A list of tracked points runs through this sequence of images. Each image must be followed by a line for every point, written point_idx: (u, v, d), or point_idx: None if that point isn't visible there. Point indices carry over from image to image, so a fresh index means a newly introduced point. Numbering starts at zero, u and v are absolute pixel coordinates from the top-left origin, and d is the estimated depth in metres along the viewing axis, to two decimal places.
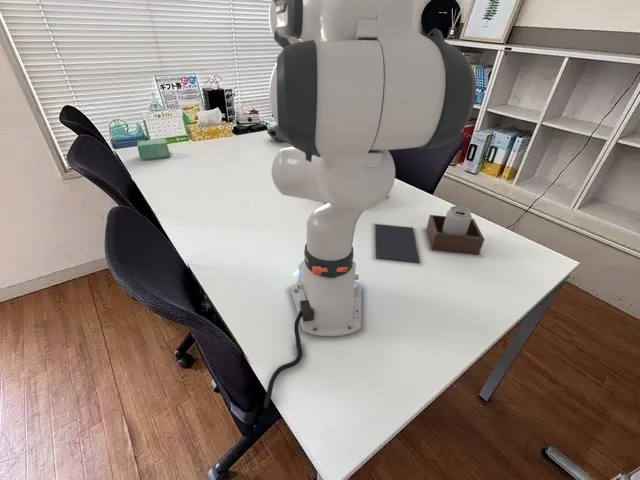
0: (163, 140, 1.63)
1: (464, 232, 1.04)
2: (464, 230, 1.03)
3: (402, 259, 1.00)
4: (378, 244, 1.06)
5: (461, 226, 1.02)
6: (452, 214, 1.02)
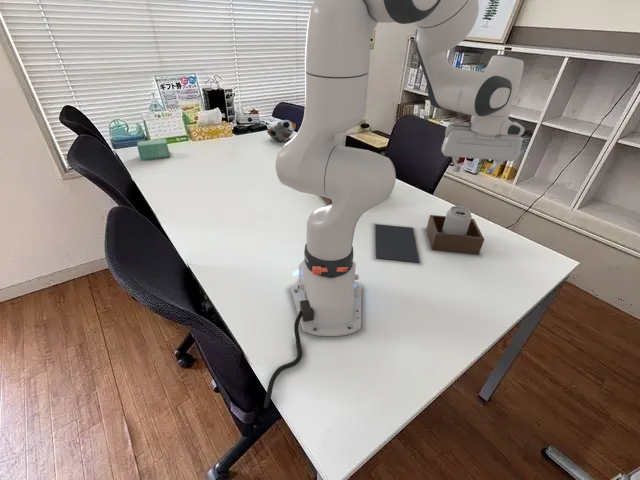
0: (163, 140, 1.63)
1: (464, 232, 1.04)
2: (464, 230, 1.03)
3: (402, 259, 1.00)
4: (378, 244, 1.06)
5: (461, 226, 1.02)
6: (452, 214, 1.02)
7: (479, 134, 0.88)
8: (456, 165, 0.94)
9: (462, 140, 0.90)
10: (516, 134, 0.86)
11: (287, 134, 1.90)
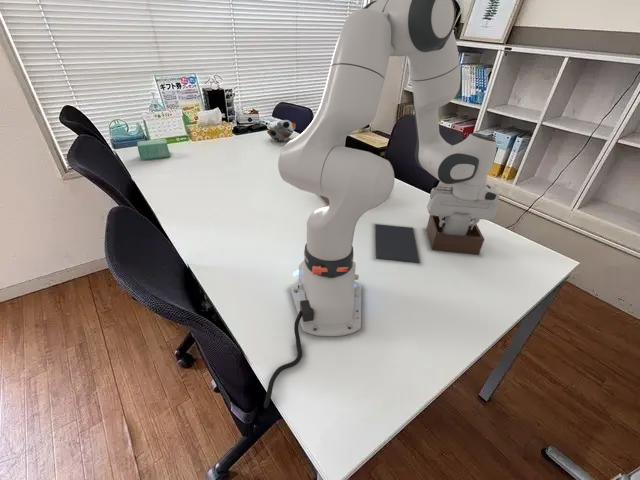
0: (163, 140, 1.63)
1: (464, 232, 1.04)
2: (464, 230, 1.03)
3: (402, 259, 1.00)
4: (378, 244, 1.06)
5: (461, 226, 1.02)
6: None
7: (460, 198, 0.98)
8: (441, 222, 1.05)
9: (445, 202, 1.00)
10: (492, 199, 0.96)
11: (287, 134, 1.90)
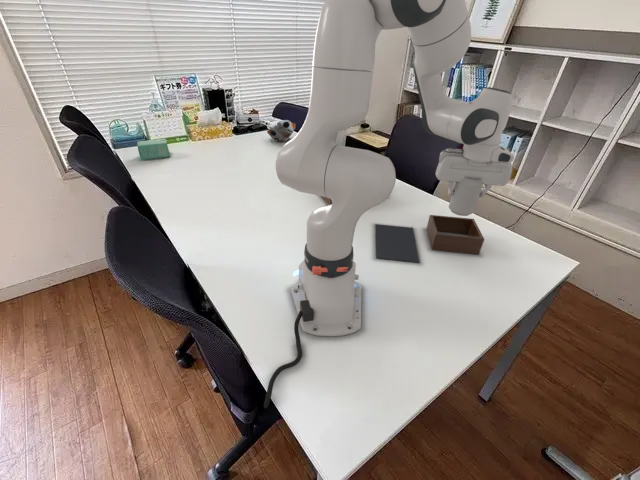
0: (163, 140, 1.63)
1: (475, 199, 0.97)
2: (475, 197, 0.96)
3: (402, 259, 1.00)
4: (378, 244, 1.06)
5: (472, 192, 0.95)
6: None
7: (471, 160, 0.92)
8: (451, 189, 0.98)
9: (455, 165, 0.94)
10: (506, 161, 0.90)
11: (287, 134, 1.90)
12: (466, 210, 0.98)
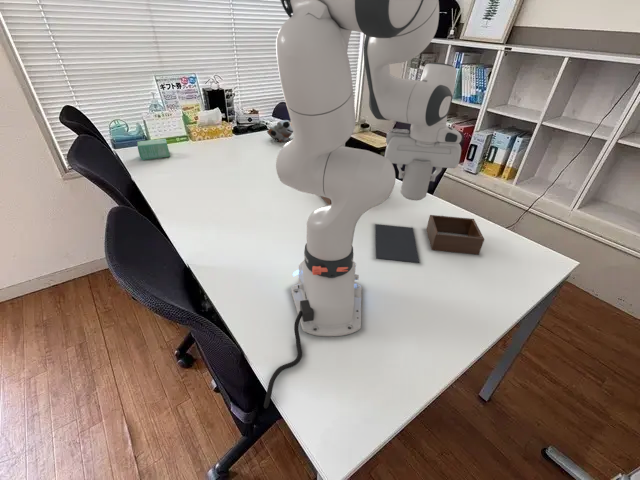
0: (163, 140, 1.63)
1: (425, 183, 0.93)
2: (425, 180, 0.92)
3: (402, 259, 1.00)
4: (378, 244, 1.06)
5: (421, 175, 0.91)
6: (411, 162, 0.91)
7: (418, 141, 0.87)
8: (400, 172, 0.94)
9: (402, 147, 0.89)
10: (454, 141, 0.85)
11: (287, 134, 1.90)
12: (416, 194, 0.94)
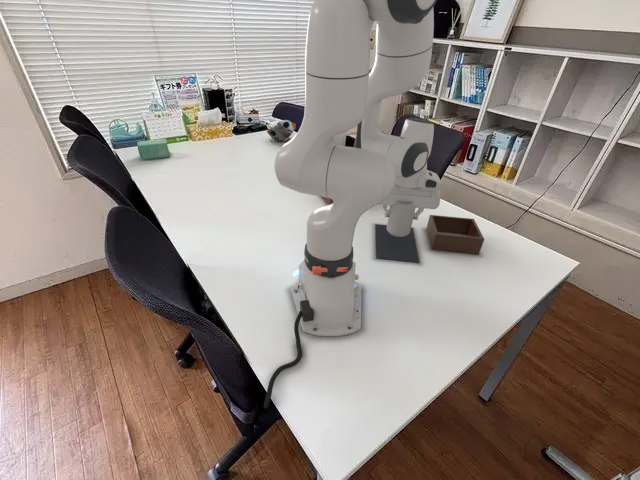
0: (163, 140, 1.63)
1: (408, 222, 1.00)
2: (408, 220, 0.99)
3: (402, 259, 1.00)
4: (378, 244, 1.06)
5: (404, 216, 0.98)
6: None
7: (401, 186, 0.94)
8: (385, 211, 1.01)
9: None
10: (433, 187, 0.92)
11: (287, 134, 1.90)
12: (401, 232, 1.01)
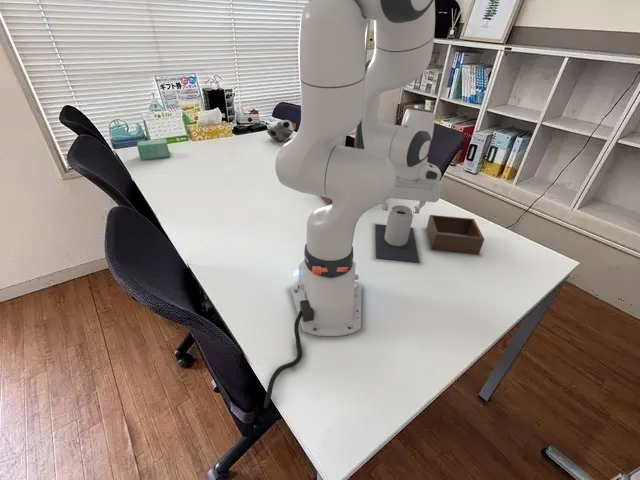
0: (163, 140, 1.63)
1: (406, 232, 1.02)
2: (406, 230, 1.01)
3: (402, 259, 1.00)
4: (378, 244, 1.06)
5: (401, 226, 1.00)
6: (393, 213, 1.00)
7: (401, 178, 0.93)
8: (384, 204, 0.99)
9: None
10: (434, 179, 0.91)
11: (287, 134, 1.90)
12: (398, 241, 1.03)
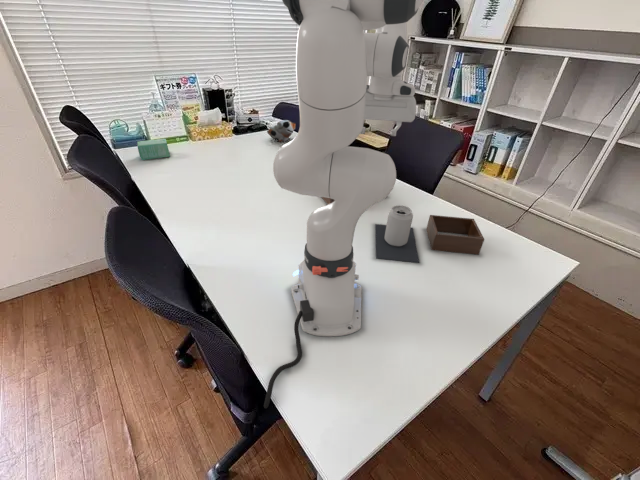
0: (163, 140, 1.63)
1: (406, 232, 1.02)
2: (406, 230, 1.01)
3: (402, 259, 1.00)
4: (378, 244, 1.06)
5: (401, 226, 1.00)
6: (393, 213, 1.00)
7: (375, 95, 0.93)
8: None
9: None
10: (408, 94, 0.91)
11: (287, 134, 1.90)
12: (398, 241, 1.03)
